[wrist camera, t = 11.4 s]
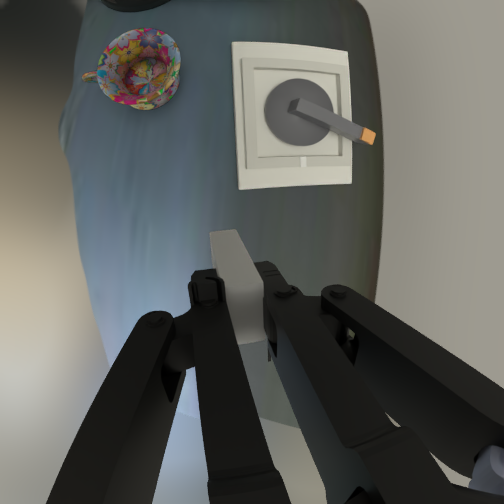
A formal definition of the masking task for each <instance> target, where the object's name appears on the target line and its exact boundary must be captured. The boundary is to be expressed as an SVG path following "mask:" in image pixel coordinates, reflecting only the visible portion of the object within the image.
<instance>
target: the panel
mask: <svg viewBox="0 0 504 504" xmlns="http://www.w3.org/2000/svg"><path fill="white" fill-rule="evenodd" d="M231 53H232V76H233V97H234V118H235V138H236V157H237V175H238V189H239V190H243V189H256V188H269V187H285V186H303V185H325V184H351V183H352V140H350V139H348V138H345V137H343V136H341V135H339V134H337V133H335V132H333V131H329V133H328V134H327V135H326V136H325V137H324V138H323V139H322V140H321V141H319V142H318V143H316V144H313V145H309V146H295V145H290V144H287V143H285V142H283V141H281V140H280V139H278V138H277V137H276V136H275V135H274V134H273V133H272V132H271V130H270V129H269V127H268V125H267V122H266V119H265V113H264V108H265V102H266V99H267V97H268V95H269V93H270V92H271V91H272V90H273V89H274V88H275V87H276V86H277V85H279V84H281V83H282V82H284V81H286V80H290V79H295V78H301V79H307V80H310V81H312V82H314V83H316V84H318V85H319V86H320V87H322V88H323V89H324V90H325V92H326V93H327V94H328V96H329V98H330V99H331V102H332V105H333V109H334V113H335V114H337V115H339V116H341V117H343V118H345V119H347V120H349V121H351V122H352V119H351V94H350V77H349V64H348V53H347V52H345V51H340V50H334V49H327V48H320V47H313V46H304V45H295V44H283V43H266V42H232V44H231Z"/></svg>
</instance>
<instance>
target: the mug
mask: <svg viewBox="0 0 504 504" xmlns="http://www.w3.org/2000/svg"><path fill="white" fill-rule="evenodd" d="M180 63H181V57H180V51H179V48H178V46H177V44H176V42H175V41H174V40H173V39H172V38H171V37H170V36H169V35H168V34H166V33H165V32H163V31H160V30H157V29H153V28H139V29H134V30H131V31H128V32H126V33H124V34H122V35H120V36H119V37H117V38H116V39H114V40H113V41H112V42H111V43H110V44H109V45H108V46H107V48H106V49H105V50H104V52H103V54H102V55H101V58H100V60H99V63H98V68H97V71H92V72H88V73H85V74H84V75H83V76H82V80H83V81H84V82H89V83H99V86H100V88H101V89H102V91H103V92H104V94H105V95H106V96H107V97H109V98H110V99H112V100H113V101H115V102H118V103H121V104H126V105H130V106H132V107H134V108H136V109H140V110H151V109H155V108H158V107H160V106H162V105H164V104H165V103H167V102H168V101H169V100H170V99H171V98H172V97H173V95H174V94H175V92H176V91H177V88H178V85H179V79H180V76H179V69H180ZM96 77H97V78H96Z"/></svg>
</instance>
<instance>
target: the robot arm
mask: <svg viewBox="0 0 504 504" xmlns="http://www.w3.org/2000/svg"><path fill="white" fill-rule="evenodd" d="M101 1H102V2H103V3H104V4H105V5H106V6H108V7H109V8H111V9H114V10H118V11H124V12H135V11H143V10H147V9H151V8H154V7H157V6H160V5H162V4H164V3H166V2H168V1H170V0H101ZM209 233H210V244H211V253H212V263H213V269H206V270H198V271H195V272H194V273H193V274H192V276H191V281H190V282H189V284H188V291H189V297H190V303H191V309H190V310H189V311H188V312H186V313H185V314H183V315H180V316H178V317H175V318H173V316H172V315H171V314H170V313H168V312H166V311H152V312H149V313H147V314H145V315H143V316H142V317H141V318H140V319H139V320H138V322H137V323H136V325H135V327H134V328H133V330H132V332H131V333H130V335H129V337H128V339H127V340H126V342H125V344H124V346H123V347H122V349H121V351H120V353H119V354H118V356H117V358H116V360H115V362H114V363H113V365H112V367H111V369H110V371H109V372H108V374H107V376H106V378H105V380H104V382H103V384H102V385H101V387H100V389H99V391H98V393H97V395H96V397H95V399H94V401H93V403H92V405H91V406H90V408H89V410H88V412H87V415H86V416H85V418H84V420H83V422H82V424H81V426H80V429H79V431H78V433H77V435H76V437H75V439H74V441H73V443H72V445H71V447H70V449H69V451H68V454H67V456H66V458H65V460H64V462H63V465H62V467H61V469H60V471H59V474H58V476H57V478H56V481H55V483H54V485H53V488H52V490H51V493H50V495H49V497H48V500H47V502H46V504H152V501H153V497H154V493H155V489H156V485H157V481H158V477H159V473H160V469H161V464H162V461H163V457H164V453H165V449H166V446H167V442H168V438H169V434H170V431H171V427H172V423H173V419H174V416H175V412H176V408H177V405H178V401H179V398H180V394H181V390H182V387H183V383H184V380H185V376H186V370H187V369H189V368H192V367H195V371H196V381H197V392H198V401H199V410H200V419H201V427H202V435H203V442H204V450H205V456H206V462H207V470H208V477H209V478H208V479H209V480H208V482H207V487H208V495H209V501H210V504H291V502H290V499H289V496H288V493H287V490H286V488H285V485H284V482H283V479H282V477H281V475H280V473H279V471H278V470H277V469H276V468H275V467H274V464H273V461H272V458H271V455H270V452H269V449H268V446H267V442H266V439H265V436H264V433H263V429H262V426H261V423H260V420H259V416H258V413H257V410H256V406H255V403H254V399H253V396H252V393H251V389H250V386H249V382H248V379H247V375H246V372H245V368H244V365H243V361H242V358H241V354H240V350H239V347H238V345H239V344H245V343H252V342H258V341H264V340H265V332H266V335H267V337H268V362H269V361H271V357H272V359H273V362H274V364H275V367H276V369H277V372H278V374H279V377H280V379H281V382H282V384H283V387H284V389H285V392H286V394H287V397H288V399H289V402H290V404H291V407H292V409H293V412H294V414H295V417H296V419H297V421H298V424H299V426H300V429H301V431H302V434H303V436H304V438H305V441H306V443H307V446H308V448H309V450H310V452H311V455H312V457H313V460H314V462H315V465H316V467H317V469H318V472H319V474H320V476H321V479H322V481H323V483H324V486H325V490H326V500H327V504H504V389H503V388H502V387H500V386H499V385H497V384H496V383H495V382H493V381H492V380H490V379H489V378H487V377H486V376H484V375H483V374H481V373H480V372H478V371H477V370H476V369H474V368H473V367H471V366H469V365H468V364H467V363H465V362H464V361H462V360H461V359H459V358H458V357H456V356H455V355H453V354H452V353H450V352H449V351H447V350H446V349H444V348H443V347H441V346H440V345H438V344H436V343H435V342H433V341H432V340H430V339H429V338H427V337H425V336H424V335H423V334H421V333H420V332H418V331H417V330H415V329H413V328H412V327H411V326H409V325H407V324H406V323H404V322H403V321H401V320H400V319H398V318H397V317H395V316H394V315H392V314H390V313H389V312H387V311H386V310H384V309H383V308H381V307H379V306H378V305H376V304H375V303H373V302H372V301H370V300H368V299H367V298H365V297H364V296H362V295H361V294H359V293H357V292H356V291H354V290H353V289H351V288H349V287H347V286H343V285H338V284H337V285H336V284H335V285H330V286H327V287H325V288H323V290H322V291H321V296H304V295H303V293H302V292H301V291H300V290H299V289H298V288H297V287H295V286H292V285H288V284H287V282H286V281H285V279H284V278H283V276H282V275H281V273H280V272H279V271H278V269H277V267H276V266H275V265H274V264H273V263H271V262H269V261H264V262H256V263H253V261H252V259H251V258H250V256H249V254H248V252H247V250H246V248H245V246H244V244H243V242H242V240H241V238H240V236H239V234H238V233H237V231H236V229H232V230H223V231H214V232H209ZM349 330H352V331H353V332H354V333H355V336H354V338H352V337H351V336H350V335H349ZM385 412H386V413H387V414H388V415H389V416H390V417H391V418H392V419H394V421H396V422H397V423H398V424H399V425H400V426H401V427H397V426H395V425H394V424H393V423H392V422H391V421H390V419H389V418H388V416H387V415H386V413H385ZM429 451H430V452H431V453H432V454H433V455H434V456H435V457H437V458H438V459H439V460H440V461H441V462H443V463H444V464H445V465H447V466H448V467H449V468H451V469H452V470H454V471H456V472H458V473H459V474H461V475H463V476H466V477H468V478H471V479H472V480H471V481H470V482H469V486H468V487H469V488H467V487H463V486H459V485H456V484H453V483H450V481H449V480H448V478H447V477H446V475H445V474H444V472H443V471H442V469H441V468H440V467H439V465H438V464H437V462H436V461H435V459H434V458H433V457H432V455H431V454H430V452H429Z"/></svg>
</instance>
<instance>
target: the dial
mask: <svg viewBox="0 0 504 504" xmlns="http://www.w3.org/2000/svg"><path fill="white" fill-rule="evenodd" d="M264 113H265V119H266V122H267V125H268V127H269V129H270V130H271V132H272V133H273V134H274V135H275V136H276V137H277V138H278V139H280V140H281V141H283V142H285V143H287V144H290V145H295V146H309V145H313V144H316V143H318V142H319V141H321V140H322V139H323V138H324V137H325V136H326V135H327V134H328V133H329V131H333V132H335V133H337V134H339V135H341V136H343V137H345V138H348V139H350V140H352V141H354V142H356V143H358V144H369V145H372V144H373V141H374V138H375V135H376V133H374V132H372V131H370V130H368V129H367V128H363V127H361V126H359V125H357V124H355V123H353V122H351V121H349V120H347V119H345V118H343V117H341V116H339V115H337V114H335V113H334V109H333V105H332V102H331V99H330V98H329V96H328V94H327V93H326V92H325V90H324V89H323V88H322V87H320V86H319V85H318V84H316V83H314V82H312V81H310V80H307V79H301V78H295V79H290V80H286V81H284V82H282V83H281V84H279V85H277V86H276V87H275V88H274V89H273V90H272V91H271V92H270V93H269V95H268V97H267V99H266V102H265V108H264Z"/></svg>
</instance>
